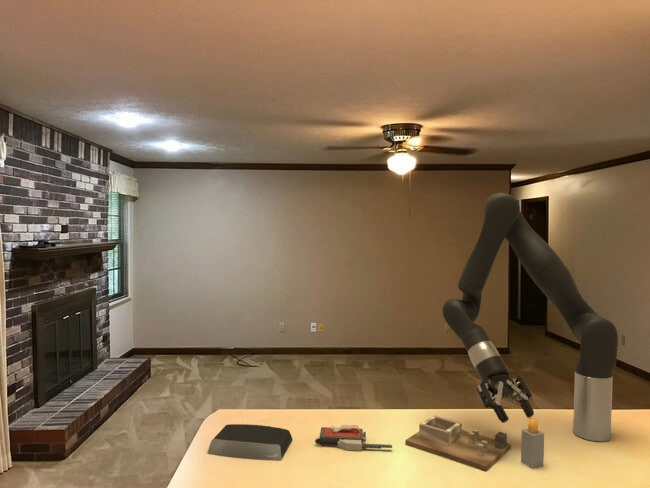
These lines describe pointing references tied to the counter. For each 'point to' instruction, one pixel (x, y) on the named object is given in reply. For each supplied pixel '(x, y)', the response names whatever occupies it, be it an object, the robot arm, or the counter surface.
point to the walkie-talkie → (346, 438)
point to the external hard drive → (251, 442)
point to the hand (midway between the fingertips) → (518, 418)
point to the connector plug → (532, 445)
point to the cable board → (459, 443)
